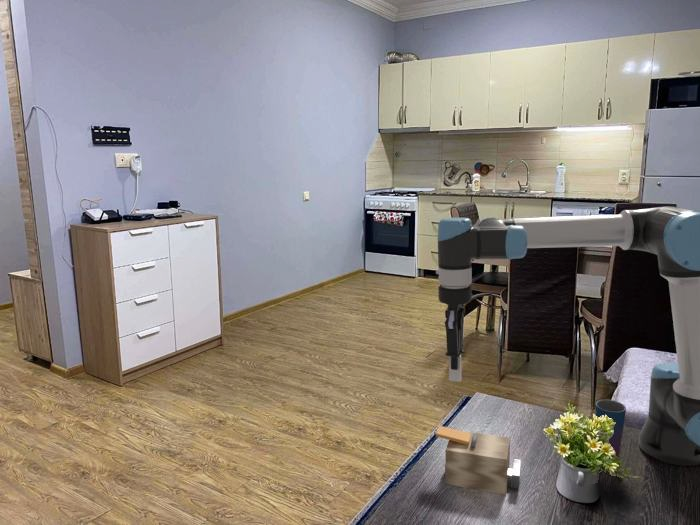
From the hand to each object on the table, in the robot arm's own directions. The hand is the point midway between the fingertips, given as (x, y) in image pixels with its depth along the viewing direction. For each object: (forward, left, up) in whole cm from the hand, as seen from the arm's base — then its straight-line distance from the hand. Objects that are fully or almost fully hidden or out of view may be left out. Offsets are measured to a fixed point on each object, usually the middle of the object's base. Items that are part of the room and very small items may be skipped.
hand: (455, 380), depth 127 cm
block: (-6, +1, -24) cm, 25 cm away
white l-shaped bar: (-6, 0, -25) cm, 25 cm away
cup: (-36, -16, -25) cm, 46 cm away
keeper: (0, +1, -15) cm, 15 cm away
